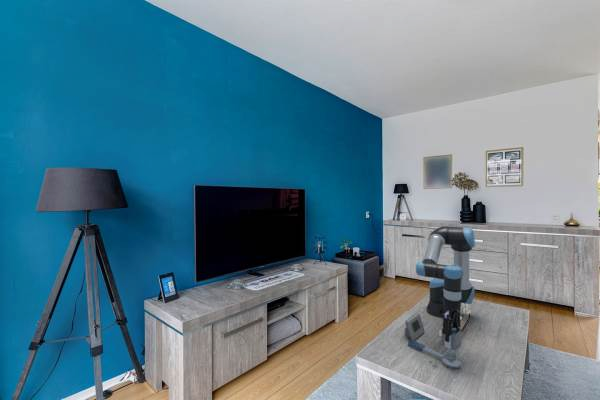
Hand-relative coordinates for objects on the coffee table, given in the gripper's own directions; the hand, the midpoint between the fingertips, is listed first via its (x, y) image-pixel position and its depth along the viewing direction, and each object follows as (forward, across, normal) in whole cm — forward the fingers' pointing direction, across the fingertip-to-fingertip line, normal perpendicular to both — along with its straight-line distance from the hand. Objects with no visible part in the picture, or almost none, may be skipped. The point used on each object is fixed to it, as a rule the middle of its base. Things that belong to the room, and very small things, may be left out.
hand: (451, 345), depth 136 cm
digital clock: (+10, -12, -26) cm, 30 cm away
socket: (0, 0, 0) cm, 0 cm away
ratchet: (+10, 0, -9) cm, 13 cm away
